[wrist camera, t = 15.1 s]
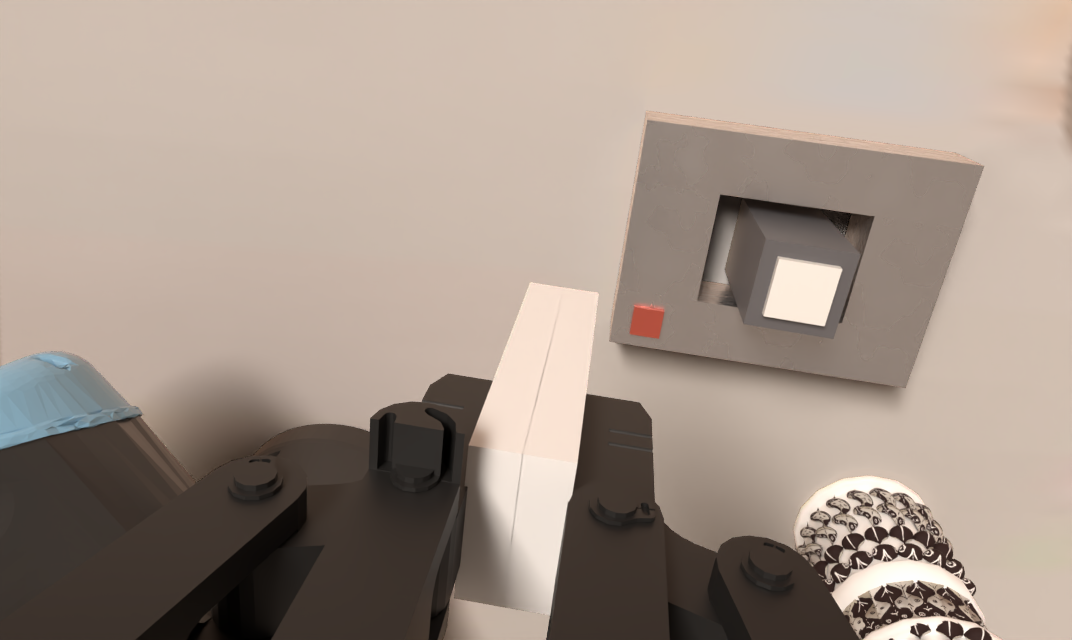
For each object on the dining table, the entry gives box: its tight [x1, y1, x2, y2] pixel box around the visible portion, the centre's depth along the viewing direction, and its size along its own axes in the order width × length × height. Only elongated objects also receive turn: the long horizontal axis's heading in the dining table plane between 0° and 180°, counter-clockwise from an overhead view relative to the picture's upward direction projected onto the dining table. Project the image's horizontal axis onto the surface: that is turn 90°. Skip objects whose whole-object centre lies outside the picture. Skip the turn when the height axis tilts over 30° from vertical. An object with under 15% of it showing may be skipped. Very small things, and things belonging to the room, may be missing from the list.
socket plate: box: [609, 111, 984, 388], centre depth 40 cm, size 12×16×4 cm
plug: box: [725, 198, 861, 339], centre depth 38 cm, size 4×4×8 cm
